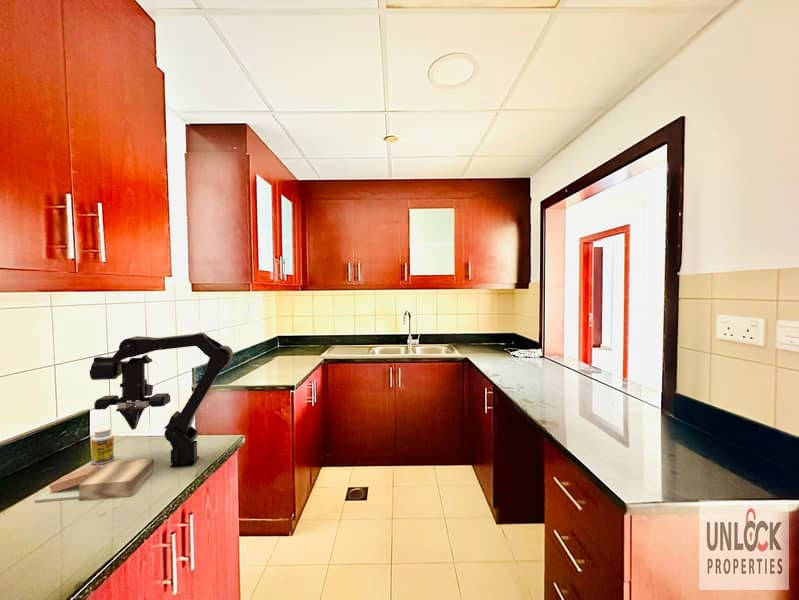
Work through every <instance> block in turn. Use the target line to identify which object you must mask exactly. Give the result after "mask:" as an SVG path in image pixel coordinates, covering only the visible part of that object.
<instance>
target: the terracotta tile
mask: <svg viewBox="0 0 799 600" xmlns="http://www.w3.org/2000/svg"><path fill="white" fill-rule="evenodd" d="M100 468H101V464H100V465H93V466H90V467H88V468H84V469H80V470H78V471H74V472H70V473H68V474H65V475H63V476H62V477H60V478H58V479H57V480H56V481H54V482H52V484H50V485H49V490H50V489H51V492H52V493H54V492H57V491H60V490H63V489H66V488H69V487H72V486H75V485H78V484H81V483H82V482H84V481H85V480H86V479H87V478H89V477H90V476H91V475H93V474H94V473H95V472H96V471H98V470H99V469H100Z"/></svg>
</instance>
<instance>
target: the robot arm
mask: <svg viewBox="0 0 799 600" xmlns="http://www.w3.org/2000/svg"><path fill="white" fill-rule="evenodd" d="M188 347H189V348H190V347H197V348H198V349H199V350H200V351H201V352H202V353H203V354H204V355H206V356H207V357H208V358H209V359H208V362H207V364H206V367H205V368H206V369H205V371H204V373H203V375H202V376H201V378H200V380H199V382H198V384H197V385H196V387H195V388H194V390H193V391H192V393H191V395H190V397H189V398H188V400H187V402H186V403H185V405H184V407H183V409H181V411H179V410H176V411H175V412H174V413H173V414H172V415H171V417H169V418H170V419H169V421H168V423H167V424H166V425H165V427H164V430H165V431H164V434H163V436H164V437H165V439H166V440H167V441H168V442H169V443H170V446H171V450H170V464H171V465H170V468H172V469H173V468H183V467H194V465H195V464H196V463H197V461H198V460H199V459H200V455H199V456H198V441H197V440H196V439H197V436H198V434H199V431H198V430H197V429H196V428H195V427H193V426H192V425H193V422H194V419H195V416H196V415H195V414H196V413H197V411H198V409H199V408H200V406H201V405H202V402H203V401H204V399H205V397H206V396H207V394H208V392H209V390H210V389H211V387H212V386H213V384H214V382H215V380H216V379H217V377H218V375H219V374H220V373H221V372H222V371H223V369H224V368H225V367H227V365H228V364H229V363H230V361H232V358H233V356H234V352H233V350H232V348H231V347H230V346H228V345H223V344H221V343H220V342H218V341H217V340H215V339H213V338H212V337H210V336H209V335H207V333H205V332H198V333H190V334H184V335H182V334H181V335H173V336H165V337H164V336H163V337H151V336H139V335H137V336H133V337H129V338H126V339H123V340H121V342H120V343H119V346H118V350H116V352H115V353H114V354H113V356H108V357H107V356H96V357H93V362H92V364H91V366H90V369H89V377H90V379H91V380H92V381H102V380H104V381H105V380H117V379H118V378H119V376H121V383H119V388H121V397H119V395H104V396H101V397H100V398H97V399H96V400H95V401H94V403H93V405H94V406H93V409H94V410H106V409H108V408H109V406H117V408H116V410H115V411H116V412H119V413H120V414H121V416H122V417H123V418H124V419H125V422H126V423H127V424H128V426H129V428H130V429H131V430H132V431H133V430H134V431H135V430H136V429H137V426H138V425H139V422H140V420H141V416H142V414H143V412H144V410H145V409H147V408H148V407H151V408H155V407H156V408H159V407H164V406H166V405H167V404H169V403H171V395H170V394H169V393H168V392H165V393H164V392H163V393H155V394H153V390H154V385H152V384H150V383H149V384H148V381H147V379H146V376H145V375H146V373H145V368H146V367H145V366H146V364H150V363H152V362H153V359H152V358H151V357H149V356H148V355H147V354H149V353H152V352H154V351H163V350H173V349H180V348H188ZM141 355H142V356H141ZM137 356H141V357H137ZM128 358H130V359H129V360H126V359H128ZM125 360H126V361H125Z"/></svg>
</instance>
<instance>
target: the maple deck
mask: <svg viewBox="0 0 799 600" xmlns="http://www.w3.org/2000/svg"><path fill="white" fill-rule="evenodd" d="M154 461H155V459H154V458H147V459H145V458H144V459H133V460H119V461H117V460H116V461H110V462H108V463H105V464H103V465H102V467H100V469H99V470H98V471H96V472H95V473H94V474H93V475H91V476H90V477H89V478H87V479H86V480H85V481H84V482H82V483H81V484H80V485H79V499H78V500H79V501H89V500H100V498H102V499H111V498H112V497H113V498H123V496H124V497H132V496H133V494H135V492H137V490H138V489H139V488H141V487H142V485H143V484H144V483H146V481H147V480H148V479H149V477H151V476H152V475H153V473H155V462H154ZM113 498H112V499H113Z"/></svg>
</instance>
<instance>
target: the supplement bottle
mask: <svg viewBox="0 0 799 600" xmlns="http://www.w3.org/2000/svg"><path fill="white" fill-rule="evenodd" d="M113 460H114V434H113V433H112V432H111V427H101V428H98V429H95V430H94V435H93V436H92V437H91V463H92V465H94V466H96V465H100V466H101V465H105V464H107V463H108V462H113Z"/></svg>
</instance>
